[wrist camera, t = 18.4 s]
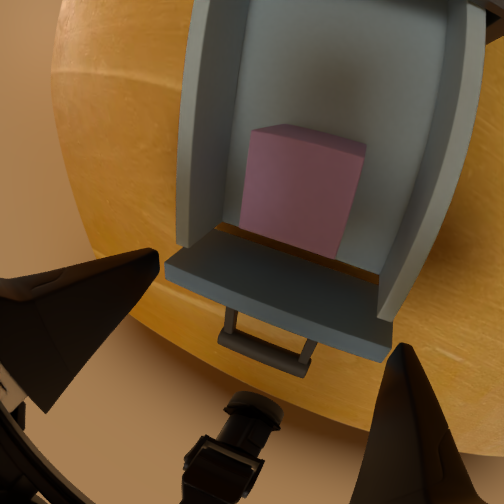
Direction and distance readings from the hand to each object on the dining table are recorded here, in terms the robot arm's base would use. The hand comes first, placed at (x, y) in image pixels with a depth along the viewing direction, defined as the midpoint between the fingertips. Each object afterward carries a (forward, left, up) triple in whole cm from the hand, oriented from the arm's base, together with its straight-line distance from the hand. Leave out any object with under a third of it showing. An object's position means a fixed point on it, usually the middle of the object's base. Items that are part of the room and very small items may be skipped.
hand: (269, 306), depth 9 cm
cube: (+2, +2, -7) cm, 7 cm away
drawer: (+2, +2, -8) cm, 8 cm away
